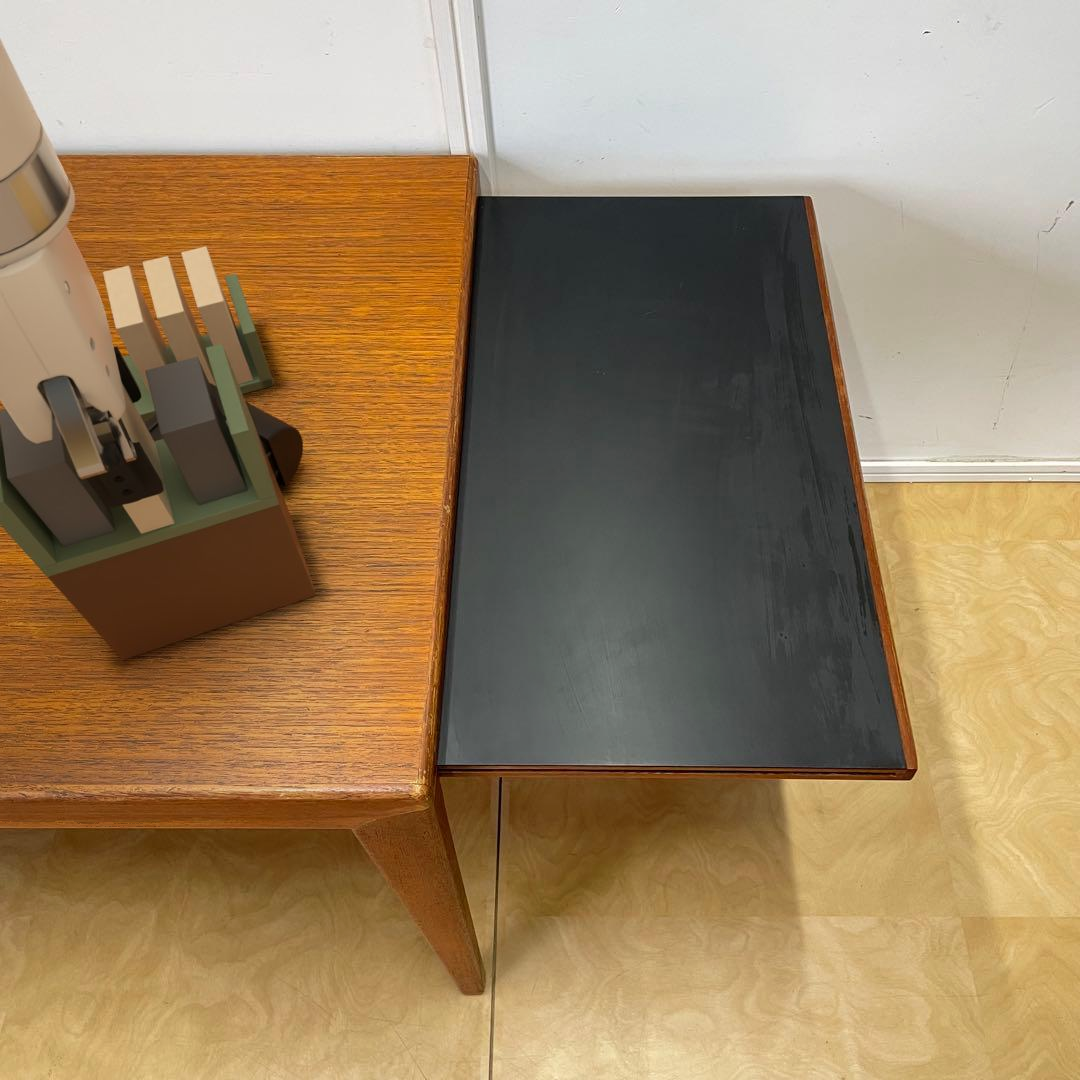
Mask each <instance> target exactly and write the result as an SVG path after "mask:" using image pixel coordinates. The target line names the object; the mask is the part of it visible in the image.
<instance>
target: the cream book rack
mask: <svg viewBox="0 0 1080 1080" xmlns="http://www.w3.org/2000/svg"><path fill="white" fill-rule="evenodd" d="M180 253H181V257H182V261H183V264H184V267H185V270H186V274H187V277H188V281H189V284H190V288H191V291H192V294H193V298H194V302H195V304H196V308H197V310H198V313H199V316H200V317H201V321H202V322H203V325H204V327H205V330H206V332H207V334H202V333H201V330H200V328H199V326H198V324H197V322H196V319H195V316H194V314H193V312H192V309H191V307H190V305H189V302H188V299H187V298H186V295H185V293H184V290H183V288H182V285H181V283H180V281H179V278H178V276H177V274H176V271H175V269H174V266H173V264H172V262H171V260H170V257H169V256H168V255H166V256H165V255H164V256H161V257H158V258H154V259H150V260H145V261H142V266H143V271H144V274H145V278H146V281H147V285H148V289H149V293H150V297H151V301H152V305H153V309H154V313H155V316H156V319H157V321H158V323H159V325H160V328H161V330H162V332H163V334H164V336H165V339H166V340H167V343H168V344H167V343H166V341H165V339H164V336H163V335H162V332H161V330H160V328H159V326H158V324H157V322H156V320H155V317H154V315H153V313H152V311H151V309H150V307H149V305H148V303H147V301H146V298H145V297H144V294H143V293H142V290H141V288H140V285H139V284H138V281H137V279H136V277H135V275H134V273H133V271H132V269H131V267H130V266H129V265H125V266H121V267H116V268H112V269H109V270H105V271H102V275H103V279H104V283H105V287H106V292H107V297H108V300H109V305H110V310H111V313H112V319H113V321H114V326H115V327H114V328H115V330H116V331H117V334H118V335H119V337H120V339H121V341H122V343H123V345H124V346H125V349H126V351H127V353H128V355H125V356H123V358H124V360H125V362H126V364H127V366H128V368H129V370H130V371H131V373H132V375H133V377H134V379H135V381H136V383H137V385H138V387H139V388H140V392H141V399H140V400H139V401H138V402H135V403H133V404H134V406H135V407H136V409H137V411H138V413H139V415H140V416H141V418H142V420H143V422H144V423H146V422H147V421H148V420H149V419H150V418H151V417H152V416H153V415H154V414H155V409H154V405H153V400H152V396H151V392H150V388H149V384H148V380H147V376H146V372H145V371H146V370H149V369H153V368H156V367H160V366H164V365H167V364H171V363H175V362H178V361H182V360H186V359H189V358H193V357H198V358H199V361H200V363H201V365H202V368H203V370H204V372H205V374H206V377H207V379H208V381H209V383H211V384H213V385H215V386H216V382H215V379H214V376H213V372H212V369H211V365H210V362H209V359H208V355H207V352H206V348H207V347H211V346H215V345H218V344H223V347H224V349H225V352H226V354H227V357H228V359H229V362H230V364H231V367H232V369H233V372H234V374H235V377H236V380H237V382H238V385H239V387H240V390H241V392H242V395H245V394H249V393H252V392H255V391H259V390H264V389H266V388H270V387H273V386H275V382H274V379H273V376H272V373H271V370H270V367H269V365H268V361H267V358H266V355H265V353H264V350H263V346H262V344H261V340H260V338H259V334H258V332H257V328H256V325H255V324H254V320H253V318H252V314H251V311H250V309H249V305H248V303H247V300H246V297H245V294H244V291H243V289H242V286H241V283H240V279H239V277H238V274H237V273H233V274H229V275H225V276H224V280H225V283H226V286H227V289H228V292H229V295H230V298H231V301H232V304H233V307H234V311H235V313H236V317H237V319H238V322H239V325H236V322H235V320H234V317H233V314H232V312H231V309H230V306H229V303H228V300H227V298H226V295H225V293H224V290H223V287H222V285H221V282H220V279H219V276H218V273H217V271H216V268H215V266H214V263H213V260H212V257H211V255H210V252H209V250H208V247H207V246H206V245H205V246H202V247H198V248H194V249H190V250H189V249H188V250H186V251H185V250H184V251H182V252H180Z"/></svg>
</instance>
